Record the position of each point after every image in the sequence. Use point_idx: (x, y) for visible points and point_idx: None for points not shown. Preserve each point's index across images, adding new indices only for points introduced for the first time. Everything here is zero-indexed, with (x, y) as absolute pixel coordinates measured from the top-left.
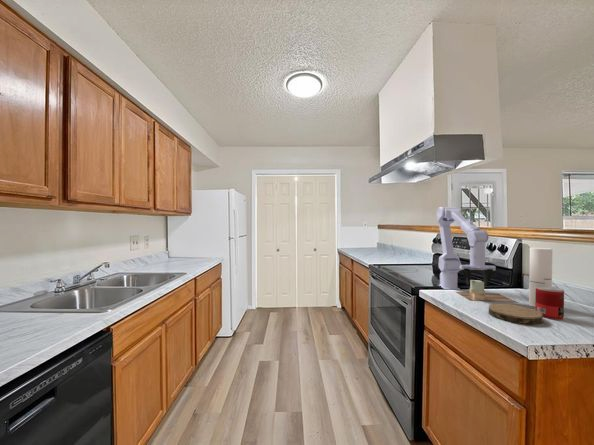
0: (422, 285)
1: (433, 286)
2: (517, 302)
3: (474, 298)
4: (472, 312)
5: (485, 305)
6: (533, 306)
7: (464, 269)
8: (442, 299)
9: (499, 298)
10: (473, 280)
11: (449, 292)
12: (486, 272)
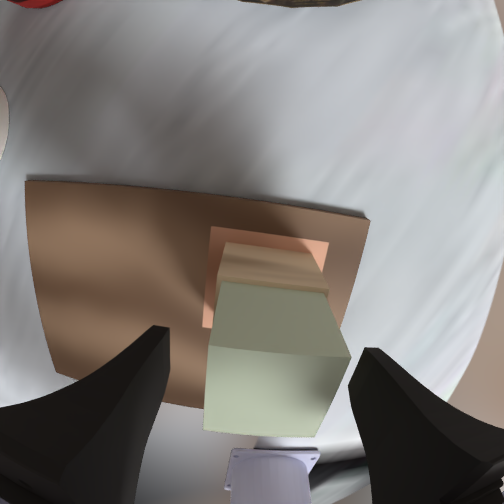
0: (365, 479)
1: (327, 478)
2: (29, 186)
3: (312, 256)
4: (472, 19)
5: (310, 114)
6: (4, 109)
7: (499, 496)
8: (487, 271)
9: (86, 281)
10: (293, 424)
11: (333, 416)
12: (106, 493)
